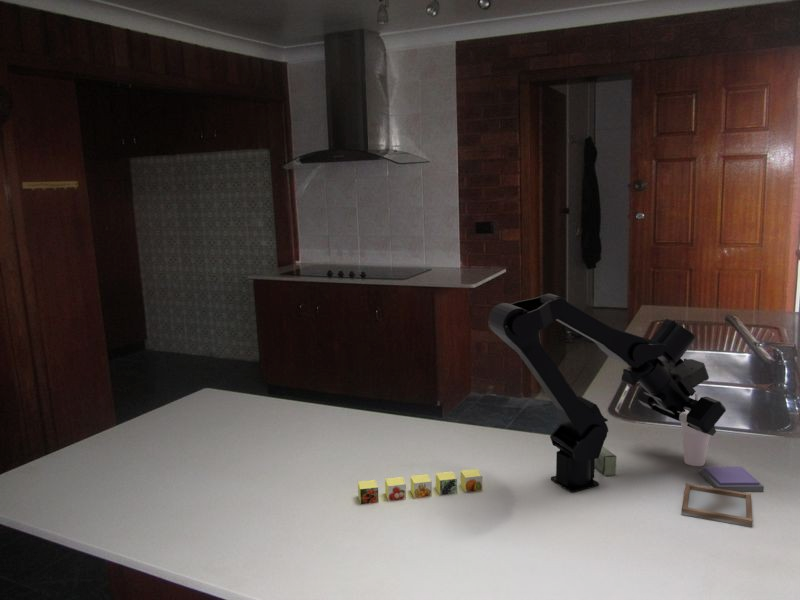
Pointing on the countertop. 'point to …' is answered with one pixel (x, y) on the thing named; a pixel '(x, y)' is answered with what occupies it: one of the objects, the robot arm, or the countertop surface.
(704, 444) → the smoothie
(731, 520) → the marked square
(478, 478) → the fruit picture blocks
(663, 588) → the countertop surface
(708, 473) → the ink pad
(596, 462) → the medication box
